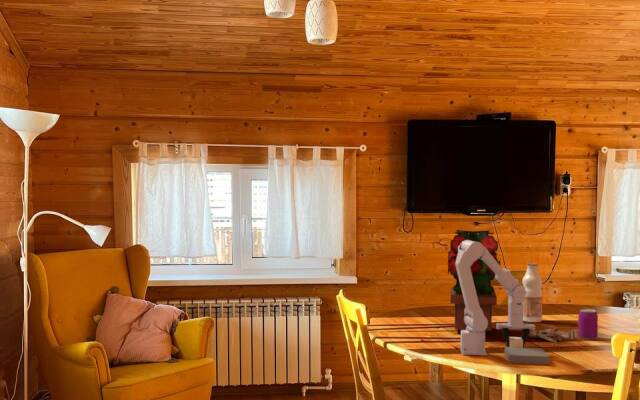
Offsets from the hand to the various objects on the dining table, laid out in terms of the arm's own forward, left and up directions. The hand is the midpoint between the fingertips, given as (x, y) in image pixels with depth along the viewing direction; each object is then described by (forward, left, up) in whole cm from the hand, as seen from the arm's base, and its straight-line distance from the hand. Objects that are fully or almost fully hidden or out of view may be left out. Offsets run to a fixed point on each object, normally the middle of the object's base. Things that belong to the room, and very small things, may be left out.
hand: (515, 347), depth 254 cm
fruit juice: (+18, +60, -2) cm, 63 cm away
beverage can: (+35, +27, -2) cm, 44 cm away
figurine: (+18, +19, -2) cm, 27 cm away
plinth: (+2, -12, -1) cm, 12 cm away
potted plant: (-13, +34, -2) cm, 36 cm away
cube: (0, 0, -1) cm, 1 cm away
